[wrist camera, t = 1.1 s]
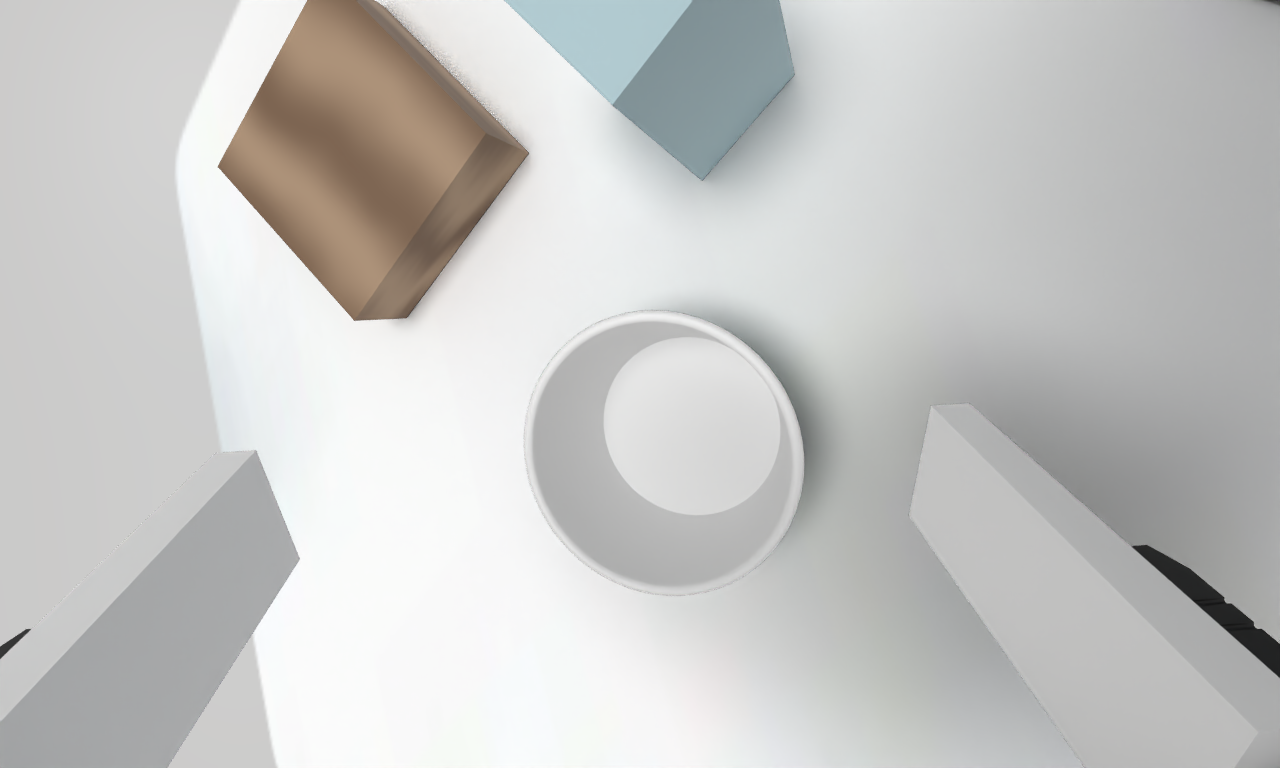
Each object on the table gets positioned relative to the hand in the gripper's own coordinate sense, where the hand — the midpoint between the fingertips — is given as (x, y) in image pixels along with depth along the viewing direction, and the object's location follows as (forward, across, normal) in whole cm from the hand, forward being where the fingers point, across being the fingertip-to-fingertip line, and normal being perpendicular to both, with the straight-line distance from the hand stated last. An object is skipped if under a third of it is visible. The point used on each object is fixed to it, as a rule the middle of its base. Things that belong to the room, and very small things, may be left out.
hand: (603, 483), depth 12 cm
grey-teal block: (+21, +5, +7) cm, 23 cm away
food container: (+16, +4, -9) cm, 19 cm away
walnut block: (+27, -12, +3) cm, 29 cm away
